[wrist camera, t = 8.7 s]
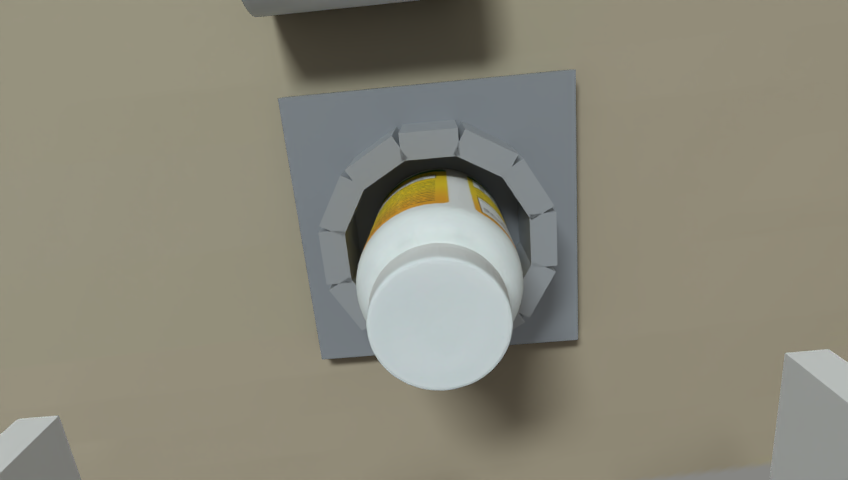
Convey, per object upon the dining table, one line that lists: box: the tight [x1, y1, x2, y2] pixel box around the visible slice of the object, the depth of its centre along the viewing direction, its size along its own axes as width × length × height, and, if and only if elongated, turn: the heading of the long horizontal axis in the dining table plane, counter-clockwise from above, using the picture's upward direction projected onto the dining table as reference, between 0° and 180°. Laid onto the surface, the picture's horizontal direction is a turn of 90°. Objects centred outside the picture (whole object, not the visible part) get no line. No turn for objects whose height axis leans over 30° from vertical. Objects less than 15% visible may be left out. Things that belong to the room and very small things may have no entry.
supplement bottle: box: [356, 168, 523, 390], centre depth 19 cm, size 5×5×10 cm
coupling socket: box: [278, 70, 578, 359], centre depth 23 cm, size 12×12×4 cm
